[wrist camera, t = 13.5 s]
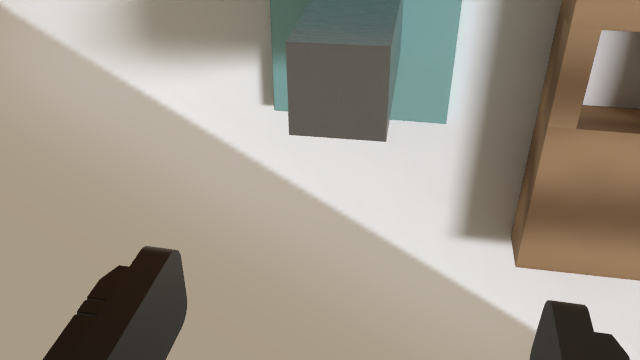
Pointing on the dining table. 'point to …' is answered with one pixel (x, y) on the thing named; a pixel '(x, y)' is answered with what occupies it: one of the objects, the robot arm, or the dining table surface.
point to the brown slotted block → (581, 159)
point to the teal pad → (414, 64)
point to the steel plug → (344, 68)
